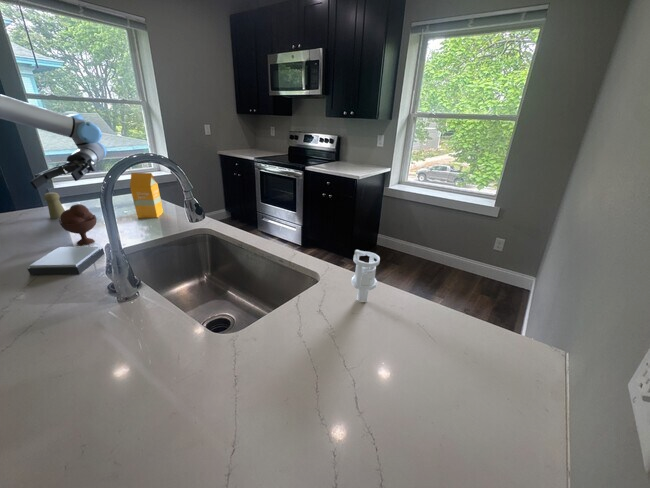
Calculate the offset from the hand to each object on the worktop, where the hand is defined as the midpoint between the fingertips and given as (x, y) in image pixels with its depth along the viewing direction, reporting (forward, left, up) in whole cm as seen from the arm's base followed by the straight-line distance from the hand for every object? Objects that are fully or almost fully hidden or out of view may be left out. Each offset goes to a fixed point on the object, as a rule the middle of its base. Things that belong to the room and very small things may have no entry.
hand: (53, 181), depth 104 cm
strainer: (+103, -43, -23) cm, 114 cm away
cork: (-23, +28, -23) cm, 43 cm away
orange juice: (+16, +30, -23) cm, 41 cm away
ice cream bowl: (+5, -1, -23) cm, 24 cm away
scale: (+10, -18, -23) cm, 31 cm away
